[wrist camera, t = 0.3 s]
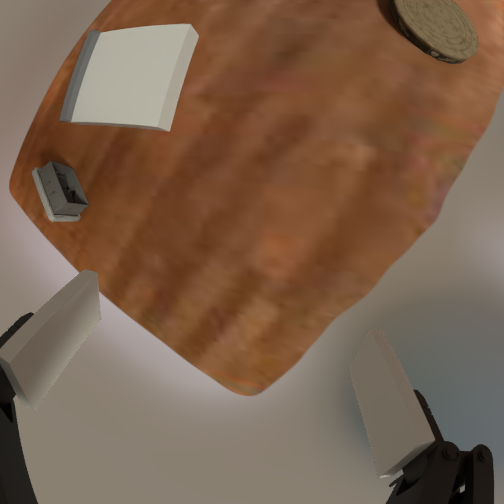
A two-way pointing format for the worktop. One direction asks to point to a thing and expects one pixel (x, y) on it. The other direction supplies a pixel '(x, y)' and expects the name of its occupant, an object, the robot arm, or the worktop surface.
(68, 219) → the electrical switch
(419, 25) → the brown round disc
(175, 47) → the white square box
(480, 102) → the worktop surface
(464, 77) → the worktop surface
